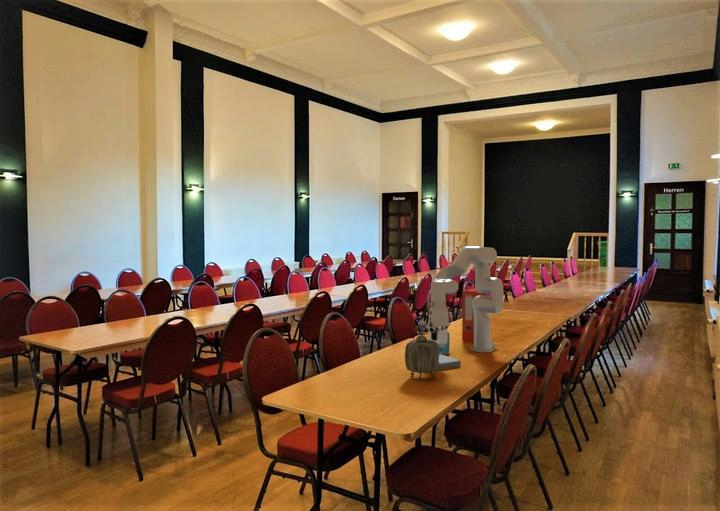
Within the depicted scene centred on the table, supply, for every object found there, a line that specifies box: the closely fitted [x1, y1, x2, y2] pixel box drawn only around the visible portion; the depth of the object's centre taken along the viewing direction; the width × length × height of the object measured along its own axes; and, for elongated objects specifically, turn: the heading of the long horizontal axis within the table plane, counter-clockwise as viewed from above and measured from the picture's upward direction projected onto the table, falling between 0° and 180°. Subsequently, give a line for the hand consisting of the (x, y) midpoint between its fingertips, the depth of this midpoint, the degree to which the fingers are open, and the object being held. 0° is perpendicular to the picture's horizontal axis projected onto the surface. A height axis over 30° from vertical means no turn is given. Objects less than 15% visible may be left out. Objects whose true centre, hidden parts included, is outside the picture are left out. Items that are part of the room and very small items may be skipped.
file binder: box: [461, 288, 487, 344], centre depth 329 cm, size 8×17×32 cm, turn 142°
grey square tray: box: [434, 354, 461, 371], centre depth 271 cm, size 16×16×3 cm
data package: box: [437, 331, 450, 355], centre depth 295 cm, size 12×4×12 cm, turn 140°
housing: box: [428, 327, 449, 344], centre depth 270 cm, size 9×5×8 cm, turn 29°
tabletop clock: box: [404, 325, 439, 381], centre depth 246 cm, size 14×9×25 cm, turn 66°
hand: (438, 339), depth 270 cm, fingers closed on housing, 5 cm apart
